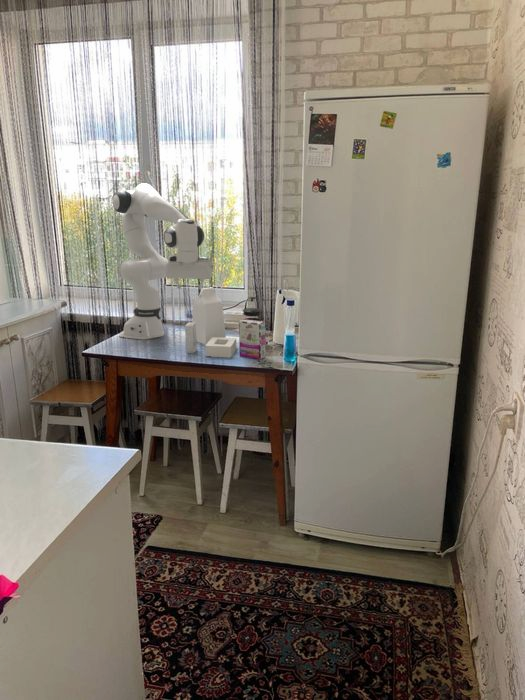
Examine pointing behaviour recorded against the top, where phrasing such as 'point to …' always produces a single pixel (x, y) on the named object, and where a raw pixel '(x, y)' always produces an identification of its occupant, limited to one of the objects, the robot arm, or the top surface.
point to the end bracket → (191, 337)
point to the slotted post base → (221, 347)
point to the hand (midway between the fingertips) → (189, 288)
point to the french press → (252, 311)
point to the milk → (208, 316)
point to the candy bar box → (252, 339)
